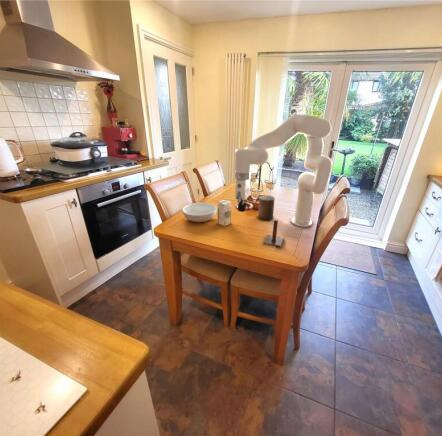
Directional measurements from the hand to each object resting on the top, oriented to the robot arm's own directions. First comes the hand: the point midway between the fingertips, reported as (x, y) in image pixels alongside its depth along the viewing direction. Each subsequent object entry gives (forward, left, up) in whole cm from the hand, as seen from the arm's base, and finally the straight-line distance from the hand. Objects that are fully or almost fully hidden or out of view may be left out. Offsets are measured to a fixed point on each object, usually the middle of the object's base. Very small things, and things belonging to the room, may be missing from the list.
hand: (241, 210), depth 120 cm
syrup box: (-12, -14, -16) cm, 25 cm away
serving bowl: (-14, -31, -16) cm, 38 cm away
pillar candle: (-31, +7, -16) cm, 35 cm away
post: (-2, +18, -16) cm, 24 cm away
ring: (-4, 0, +1) cm, 4 cm away
